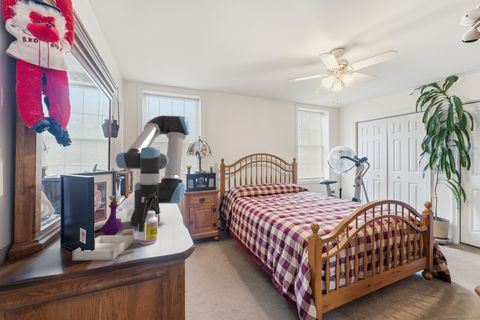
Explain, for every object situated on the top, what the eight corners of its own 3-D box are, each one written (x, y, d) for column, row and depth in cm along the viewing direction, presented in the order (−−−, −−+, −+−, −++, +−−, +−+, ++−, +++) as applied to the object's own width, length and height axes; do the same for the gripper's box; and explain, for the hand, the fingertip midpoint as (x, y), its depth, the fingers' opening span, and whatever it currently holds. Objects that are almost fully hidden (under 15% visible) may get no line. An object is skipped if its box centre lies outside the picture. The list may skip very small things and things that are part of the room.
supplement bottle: (150, 246, 84) (151, 214, 85) (136, 244, 86) (136, 213, 86) (160, 240, 91) (160, 210, 91) (146, 238, 92) (147, 209, 92)
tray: (100, 242, 87) (100, 235, 87) (133, 242, 88) (133, 235, 88) (72, 260, 72) (72, 251, 72) (113, 259, 72) (113, 251, 72)
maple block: (123, 238, 92) (123, 229, 92) (133, 238, 93) (133, 229, 93) (121, 242, 88) (121, 232, 88) (132, 241, 90) (132, 231, 90)
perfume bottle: (106, 231, 101) (106, 194, 101) (123, 230, 103) (123, 194, 103) (99, 237, 94) (100, 197, 94) (118, 235, 96) (119, 196, 96)
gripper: (151, 181, 101) (150, 225, 101) (126, 186, 76) (124, 245, 76) (167, 181, 101) (166, 225, 101) (147, 186, 76) (146, 245, 76)
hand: (148, 233), depth 88 cm, fingers open, 13 cm apart
